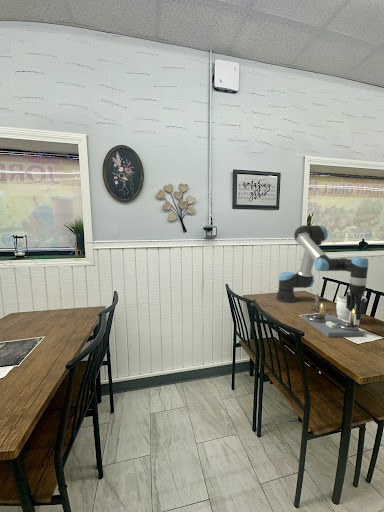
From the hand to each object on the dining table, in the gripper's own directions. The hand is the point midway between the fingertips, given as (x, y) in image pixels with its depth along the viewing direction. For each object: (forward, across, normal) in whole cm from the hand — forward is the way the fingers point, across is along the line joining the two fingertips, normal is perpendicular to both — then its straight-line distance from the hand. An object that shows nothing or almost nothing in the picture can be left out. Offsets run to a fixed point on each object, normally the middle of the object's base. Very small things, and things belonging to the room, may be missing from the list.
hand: (353, 323), depth 127 cm
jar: (+5, +15, -6) cm, 17 cm away
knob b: (+2, 0, +4) cm, 4 cm away
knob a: (+2, +12, +16) cm, 20 cm away
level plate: (+5, +6, +10) cm, 12 cm away
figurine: (+5, +34, 0) cm, 34 cm away
